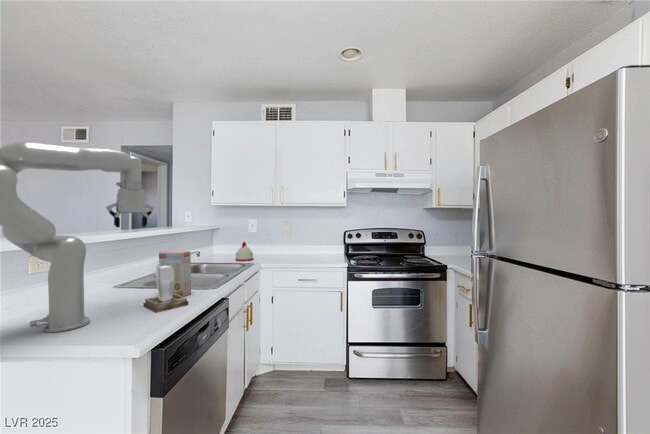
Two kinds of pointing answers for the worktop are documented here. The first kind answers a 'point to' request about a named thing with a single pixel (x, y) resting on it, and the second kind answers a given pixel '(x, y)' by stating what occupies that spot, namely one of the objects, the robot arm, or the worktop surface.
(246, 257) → the cream dome with knob
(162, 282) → the beer glass
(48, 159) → the robot arm
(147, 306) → the brown square tray
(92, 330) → the worktop surface
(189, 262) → the cracker box
